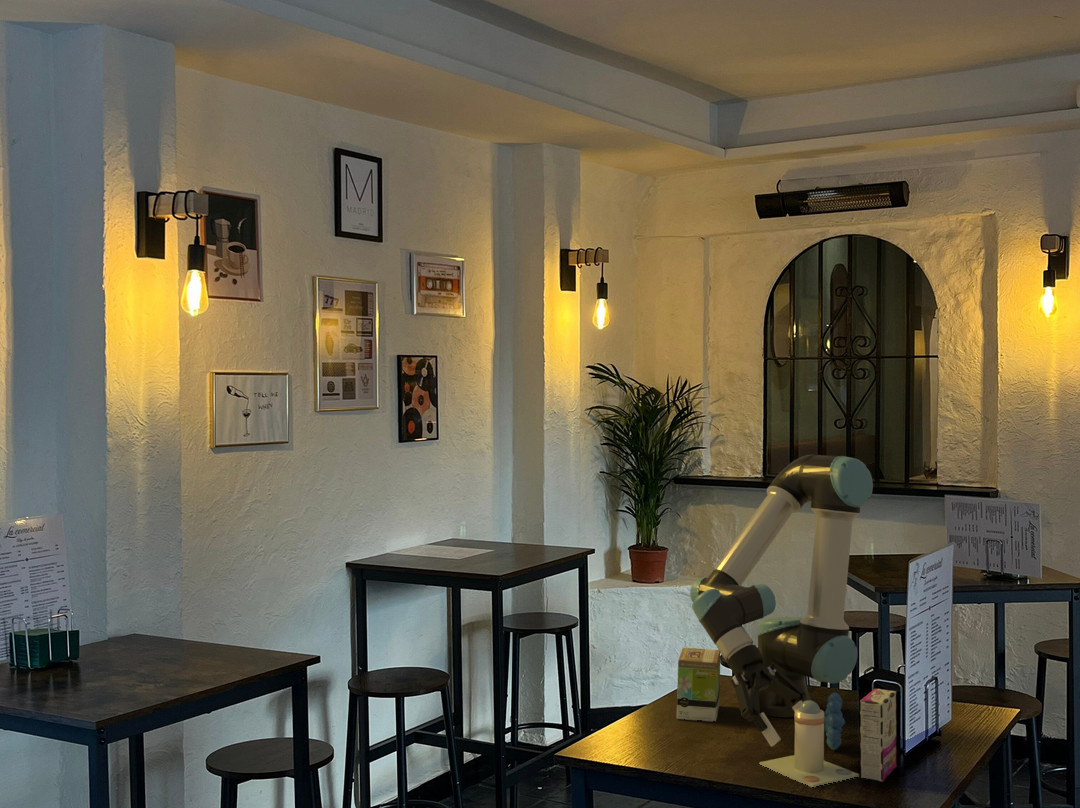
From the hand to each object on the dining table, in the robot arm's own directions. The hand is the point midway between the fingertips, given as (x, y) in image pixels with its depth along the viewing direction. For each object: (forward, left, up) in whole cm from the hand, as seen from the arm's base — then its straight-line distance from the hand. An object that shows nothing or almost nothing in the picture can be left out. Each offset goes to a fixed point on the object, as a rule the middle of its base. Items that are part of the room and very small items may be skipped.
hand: (795, 736), depth 240 cm
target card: (-1, +3, -7) cm, 7 cm away
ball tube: (-1, +3, -6) cm, 7 cm away
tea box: (-8, -43, -7) cm, 44 cm away
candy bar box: (-13, +11, -7) cm, 18 cm away
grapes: (-17, -7, -7) cm, 19 cm away
